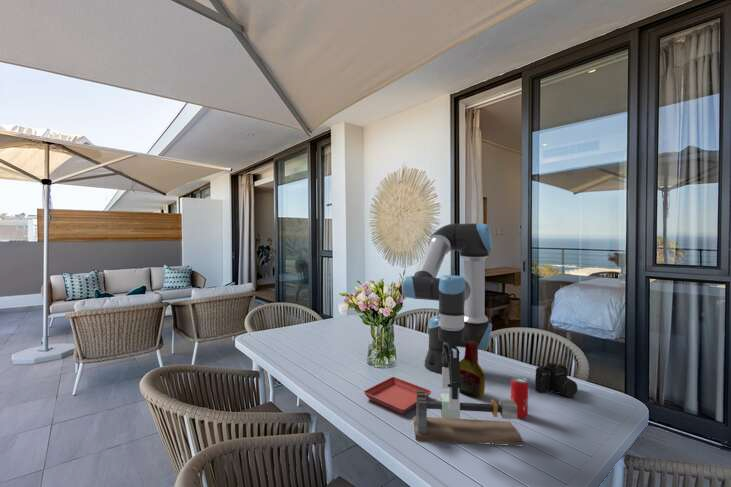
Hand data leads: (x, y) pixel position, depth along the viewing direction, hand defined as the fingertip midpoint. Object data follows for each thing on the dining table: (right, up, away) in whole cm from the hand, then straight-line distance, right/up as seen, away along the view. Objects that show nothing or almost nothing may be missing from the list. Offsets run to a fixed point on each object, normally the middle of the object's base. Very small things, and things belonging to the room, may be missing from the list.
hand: (449, 397), depth 101 cm
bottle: (+14, -10, +25) cm, 31 cm away
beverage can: (+25, -11, +10) cm, 30 cm away
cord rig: (+5, -11, 0) cm, 12 cm away
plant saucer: (-14, -11, +21) cm, 27 cm away
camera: (+48, -11, +27) cm, 56 cm away
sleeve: (0, -5, 0) cm, 5 cm away
